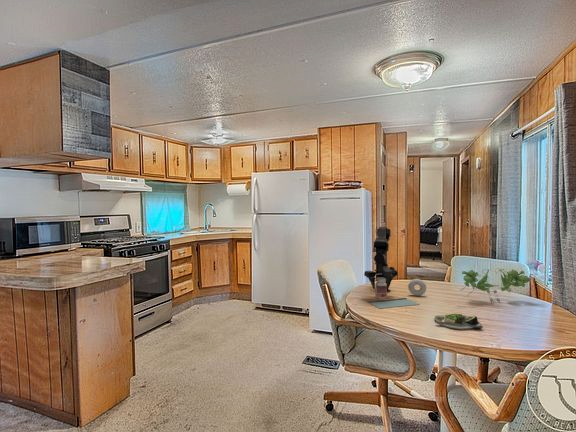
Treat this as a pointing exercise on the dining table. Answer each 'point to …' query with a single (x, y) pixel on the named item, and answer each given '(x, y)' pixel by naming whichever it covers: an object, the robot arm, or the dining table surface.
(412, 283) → the donut
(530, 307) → the dining table surface
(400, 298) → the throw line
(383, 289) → the pill bottle
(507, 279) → the plant cuttings
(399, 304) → the mat
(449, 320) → the salad plate
